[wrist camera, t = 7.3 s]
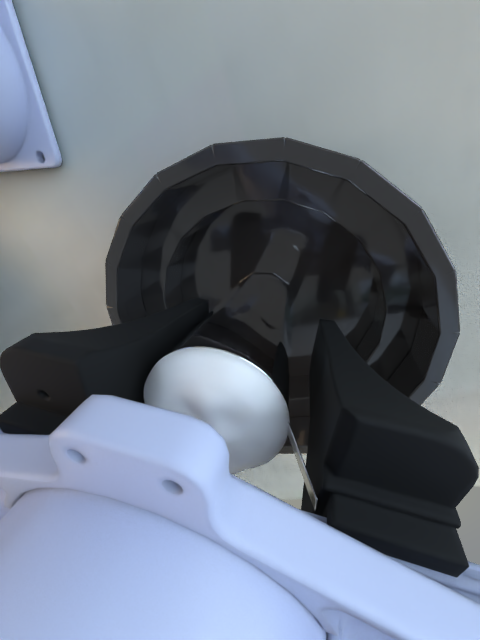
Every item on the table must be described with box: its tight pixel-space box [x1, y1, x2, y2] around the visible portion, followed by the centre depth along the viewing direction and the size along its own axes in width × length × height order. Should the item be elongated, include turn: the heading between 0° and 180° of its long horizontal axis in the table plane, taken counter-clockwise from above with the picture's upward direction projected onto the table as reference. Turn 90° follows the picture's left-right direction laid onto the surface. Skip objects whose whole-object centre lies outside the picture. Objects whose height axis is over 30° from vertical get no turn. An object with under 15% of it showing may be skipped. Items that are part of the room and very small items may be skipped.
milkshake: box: [144, 273, 318, 511], centre depth 11 cm, size 4×5×10 cm
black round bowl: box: [105, 137, 460, 454], centre depth 14 cm, size 14×14×4 cm
